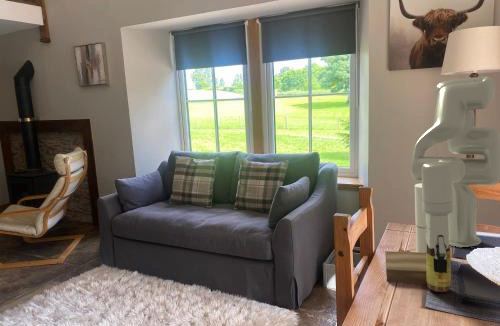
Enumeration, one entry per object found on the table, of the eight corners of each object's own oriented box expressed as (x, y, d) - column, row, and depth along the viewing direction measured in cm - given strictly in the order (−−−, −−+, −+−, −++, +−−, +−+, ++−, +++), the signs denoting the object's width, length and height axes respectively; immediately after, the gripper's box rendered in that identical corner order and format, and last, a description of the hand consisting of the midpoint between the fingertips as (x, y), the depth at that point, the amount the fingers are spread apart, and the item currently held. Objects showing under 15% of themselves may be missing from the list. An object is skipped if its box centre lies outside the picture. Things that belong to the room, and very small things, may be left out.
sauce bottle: (441, 295, 103) (439, 227, 100) (421, 287, 109) (419, 221, 106) (456, 288, 106) (455, 221, 103) (436, 280, 112) (434, 217, 109)
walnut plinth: (385, 262, 128) (385, 251, 127) (430, 264, 124) (430, 252, 123) (386, 281, 115) (386, 269, 114) (436, 284, 110) (436, 271, 110)
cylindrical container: (441, 258, 127) (440, 187, 123) (419, 258, 128) (417, 188, 124) (435, 250, 134) (434, 182, 130) (414, 250, 135) (412, 183, 131)
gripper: (419, 197, 113) (420, 253, 116) (426, 215, 97) (427, 279, 100) (446, 197, 111) (447, 254, 113) (458, 216, 95) (459, 281, 97)
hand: (438, 265), depth 107 cm, fingers closed on sauce bottle, 6 cm apart
